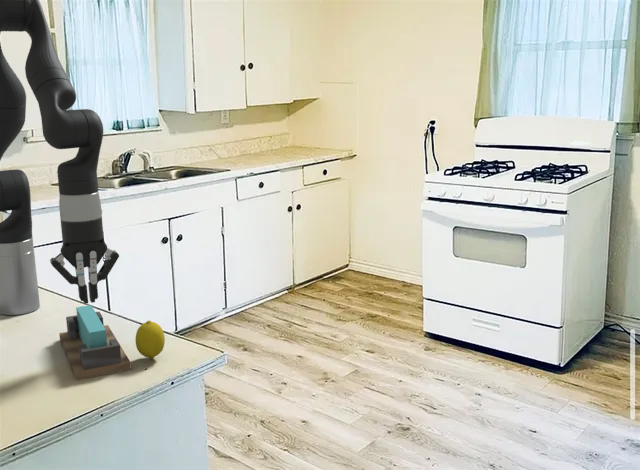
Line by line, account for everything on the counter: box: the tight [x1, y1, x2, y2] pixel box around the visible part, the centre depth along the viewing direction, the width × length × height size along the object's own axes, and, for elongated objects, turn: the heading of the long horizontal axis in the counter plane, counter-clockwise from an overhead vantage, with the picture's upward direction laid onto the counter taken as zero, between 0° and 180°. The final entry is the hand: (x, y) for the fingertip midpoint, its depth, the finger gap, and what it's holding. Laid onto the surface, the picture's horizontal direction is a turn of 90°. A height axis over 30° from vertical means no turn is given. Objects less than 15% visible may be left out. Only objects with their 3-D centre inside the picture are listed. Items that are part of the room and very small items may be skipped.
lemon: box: [135, 320, 166, 360], centre depth 134 cm, size 6×6×8 cm
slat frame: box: [58, 311, 132, 381], centre depth 137 cm, size 22×10×5 cm, turn 28°
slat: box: [75, 304, 107, 349], centre depth 136 cm, size 16×3×6 cm, turn 28°
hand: (88, 301), depth 135 cm, fingers closed
